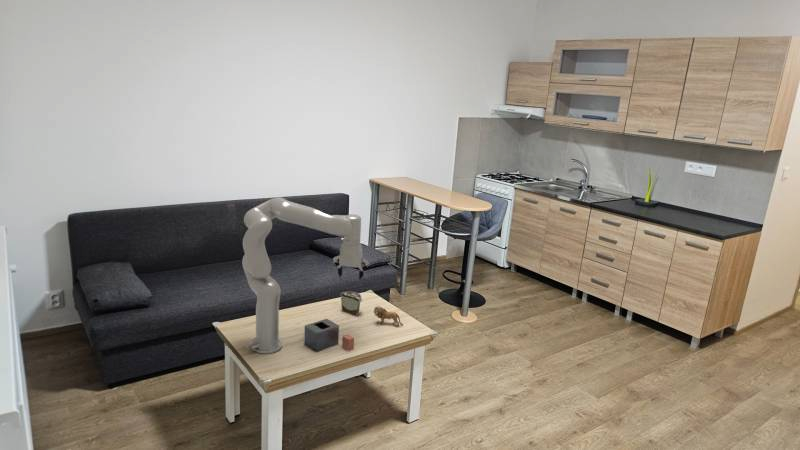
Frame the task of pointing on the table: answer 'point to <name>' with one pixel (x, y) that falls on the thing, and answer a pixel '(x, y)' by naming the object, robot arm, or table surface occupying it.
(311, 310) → the table surface
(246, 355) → the table surface
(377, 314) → the lion figurine
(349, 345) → the block
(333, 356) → the table surface
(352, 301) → the food container
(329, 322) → the box
